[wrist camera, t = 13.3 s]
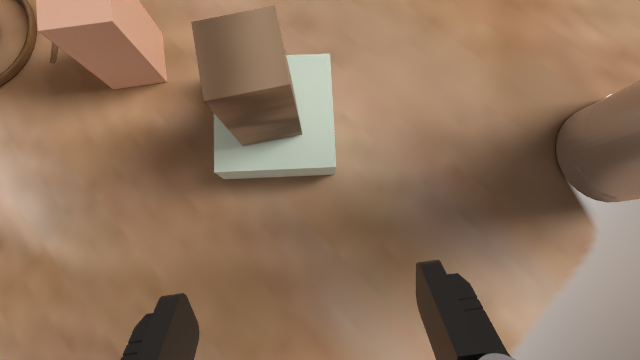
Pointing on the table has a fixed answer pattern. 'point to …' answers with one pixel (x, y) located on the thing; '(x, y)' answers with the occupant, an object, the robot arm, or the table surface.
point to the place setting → (26, 46)
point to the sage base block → (292, 152)
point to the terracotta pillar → (106, 39)
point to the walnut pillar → (247, 75)
